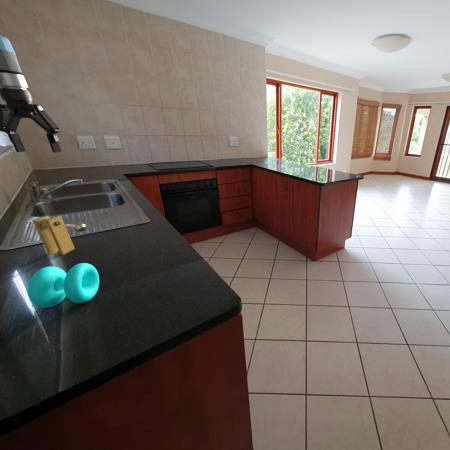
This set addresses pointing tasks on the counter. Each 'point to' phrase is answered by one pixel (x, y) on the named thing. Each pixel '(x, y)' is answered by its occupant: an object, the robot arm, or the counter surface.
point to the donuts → (63, 285)
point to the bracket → (54, 235)
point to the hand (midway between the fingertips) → (39, 152)
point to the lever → (77, 227)
